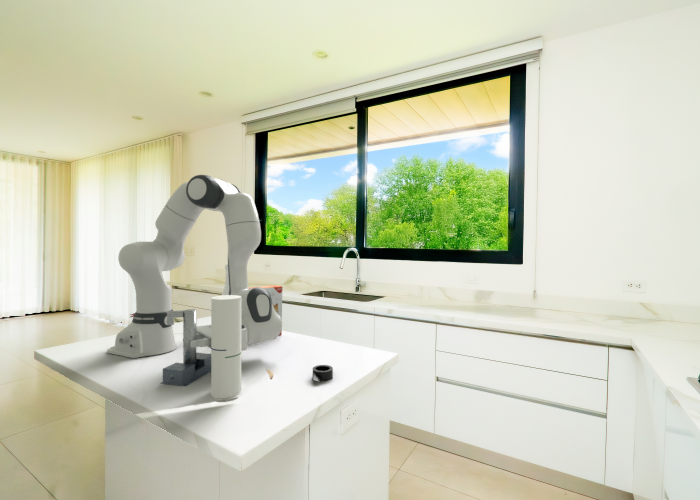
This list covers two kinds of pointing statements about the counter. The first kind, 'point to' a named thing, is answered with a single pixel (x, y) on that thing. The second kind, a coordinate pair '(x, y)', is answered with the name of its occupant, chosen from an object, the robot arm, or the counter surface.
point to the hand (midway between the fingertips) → (186, 342)
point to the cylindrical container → (225, 346)
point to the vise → (187, 371)
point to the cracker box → (275, 298)
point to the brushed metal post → (186, 332)
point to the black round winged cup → (322, 373)
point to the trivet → (270, 373)
